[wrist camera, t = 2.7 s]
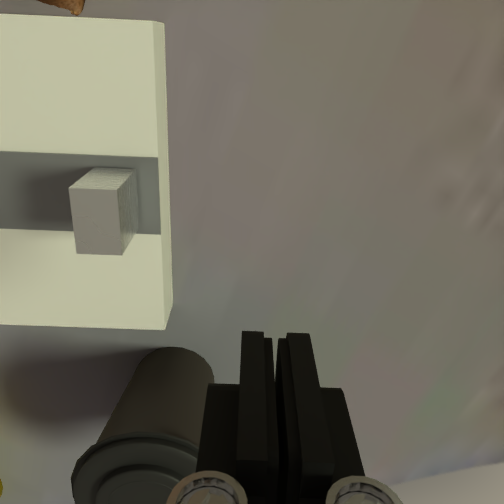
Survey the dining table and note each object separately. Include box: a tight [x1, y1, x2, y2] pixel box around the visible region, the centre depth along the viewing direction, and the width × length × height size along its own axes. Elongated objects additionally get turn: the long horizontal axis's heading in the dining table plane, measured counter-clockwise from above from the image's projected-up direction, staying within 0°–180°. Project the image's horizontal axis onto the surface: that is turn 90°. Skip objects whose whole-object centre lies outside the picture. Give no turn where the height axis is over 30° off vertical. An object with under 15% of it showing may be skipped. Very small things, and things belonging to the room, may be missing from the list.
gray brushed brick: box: [69, 167, 139, 256], centre depth 22 cm, size 3×2×4 cm, turn 178°
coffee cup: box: [71, 347, 214, 504], centre depth 28 cm, size 8×8×10 cm
